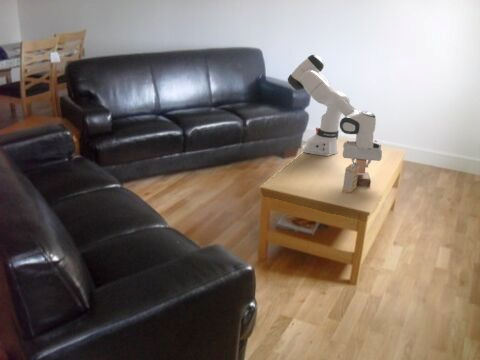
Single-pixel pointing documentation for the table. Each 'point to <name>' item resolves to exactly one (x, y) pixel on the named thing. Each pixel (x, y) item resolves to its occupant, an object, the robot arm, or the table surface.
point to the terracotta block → (361, 165)
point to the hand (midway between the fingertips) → (360, 166)
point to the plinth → (363, 179)
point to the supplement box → (350, 178)
